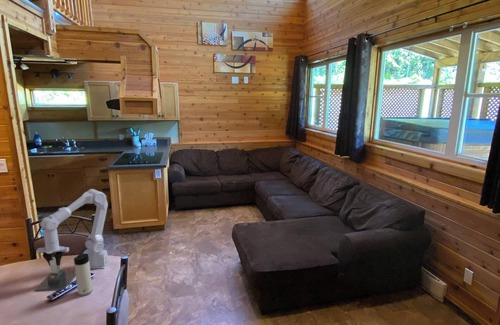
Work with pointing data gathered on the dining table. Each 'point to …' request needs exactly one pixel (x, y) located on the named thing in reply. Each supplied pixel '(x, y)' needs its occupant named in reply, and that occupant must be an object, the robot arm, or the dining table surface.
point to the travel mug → (83, 274)
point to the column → (54, 267)
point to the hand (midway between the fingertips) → (54, 264)
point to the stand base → (56, 281)
